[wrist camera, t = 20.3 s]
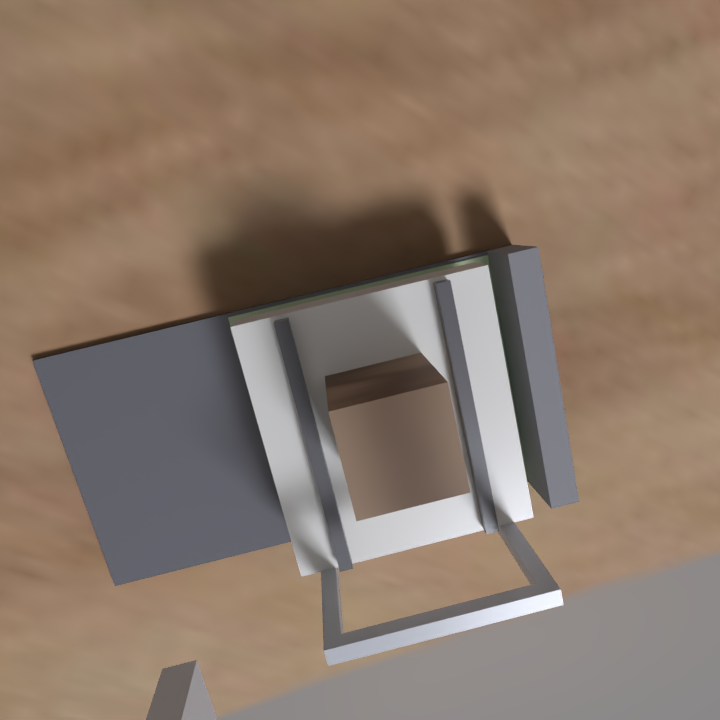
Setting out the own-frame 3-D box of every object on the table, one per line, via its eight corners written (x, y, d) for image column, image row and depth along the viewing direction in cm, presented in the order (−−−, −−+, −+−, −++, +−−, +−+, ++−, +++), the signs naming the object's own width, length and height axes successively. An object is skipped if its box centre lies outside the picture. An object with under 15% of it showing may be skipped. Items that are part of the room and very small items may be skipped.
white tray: (305, 548, 37) (303, 672, 26) (240, 314, 33) (209, 352, 23) (510, 496, 37) (587, 598, 27) (466, 260, 34) (534, 274, 24)
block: (347, 466, 31) (356, 521, 25) (324, 376, 30) (328, 411, 24) (440, 443, 31) (470, 492, 26) (421, 352, 30) (447, 382, 24)
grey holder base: (116, 583, 37) (93, 625, 33) (34, 359, 33) (-2, 376, 30) (551, 473, 38) (579, 501, 34) (512, 244, 34) (538, 246, 30)
